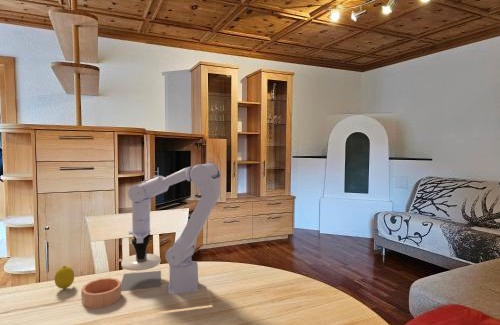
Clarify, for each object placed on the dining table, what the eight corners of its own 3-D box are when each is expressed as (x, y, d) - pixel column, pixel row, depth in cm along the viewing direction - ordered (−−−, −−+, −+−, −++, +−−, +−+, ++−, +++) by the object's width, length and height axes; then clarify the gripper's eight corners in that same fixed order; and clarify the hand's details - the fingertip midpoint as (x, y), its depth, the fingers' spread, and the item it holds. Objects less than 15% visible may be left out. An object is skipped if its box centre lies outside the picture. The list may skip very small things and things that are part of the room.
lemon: (65, 294, 99) (65, 270, 98) (50, 292, 100) (50, 268, 99) (78, 286, 104) (77, 263, 104) (64, 284, 105) (63, 261, 105)
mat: (160, 272, 117) (160, 270, 117) (160, 288, 104) (160, 286, 104) (123, 275, 113) (123, 274, 113) (119, 292, 101) (119, 291, 101)
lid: (160, 254, 116) (160, 243, 116) (160, 268, 104) (160, 255, 103) (123, 257, 113) (123, 245, 112) (118, 272, 100) (118, 258, 100)
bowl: (122, 289, 103) (122, 276, 102) (118, 306, 92) (118, 292, 92) (86, 293, 100) (86, 279, 100) (78, 311, 90) (77, 296, 89)
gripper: (130, 214, 113) (131, 250, 114) (126, 225, 99) (126, 266, 100) (151, 213, 115) (151, 248, 116) (149, 223, 101) (149, 264, 102)
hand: (141, 256), depth 108 cm, fingers closed on lid, 4 cm apart
